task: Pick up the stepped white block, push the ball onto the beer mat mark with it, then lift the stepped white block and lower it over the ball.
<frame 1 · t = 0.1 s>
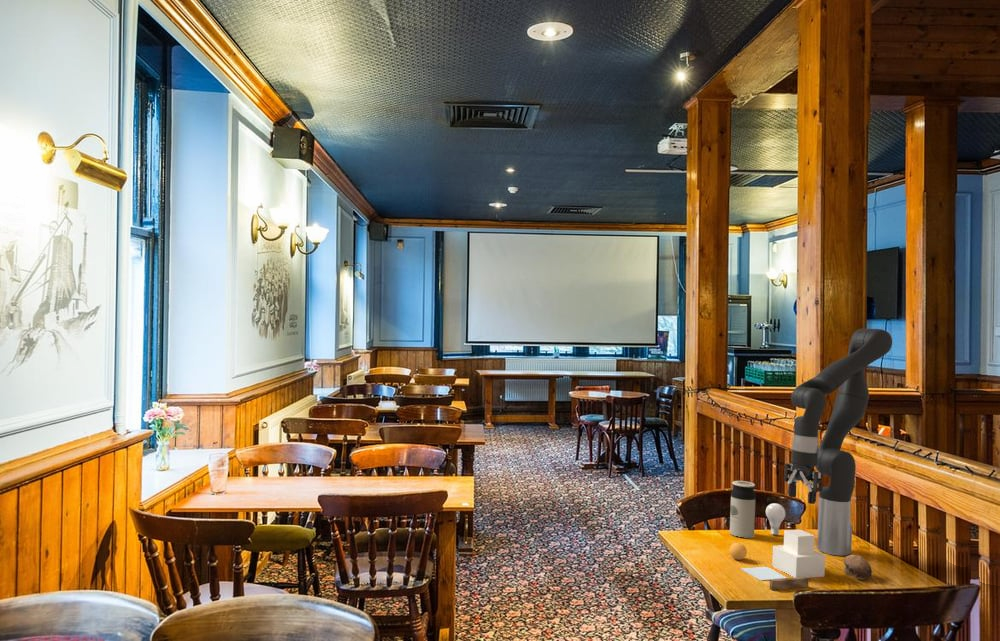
hand: (801, 500, 211), 17 cm above the table, fingers open, 8 cm apart
travel mug: (741, 535, 228), on the table
stepped white block: (797, 571, 195), on the table
beer mat mark: (763, 573, 192), on the table
brown stone: (857, 577, 193), on the table
lightbulb: (774, 535, 230), on the table
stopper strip: (789, 587, 182), on the table
ball: (738, 551, 203), on the table
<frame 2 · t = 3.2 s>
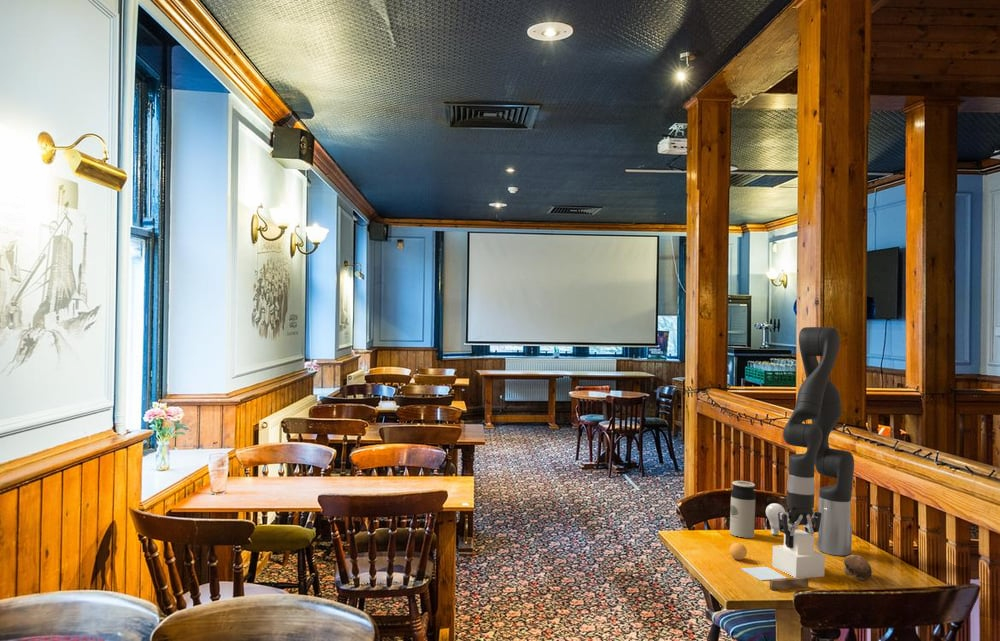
hand: (798, 546, 195), 7 cm above the table, fingers closed on stepped white block, 5 cm apart
stepped white block: (797, 571, 195), on the table, touching gripper
everything else where it was.
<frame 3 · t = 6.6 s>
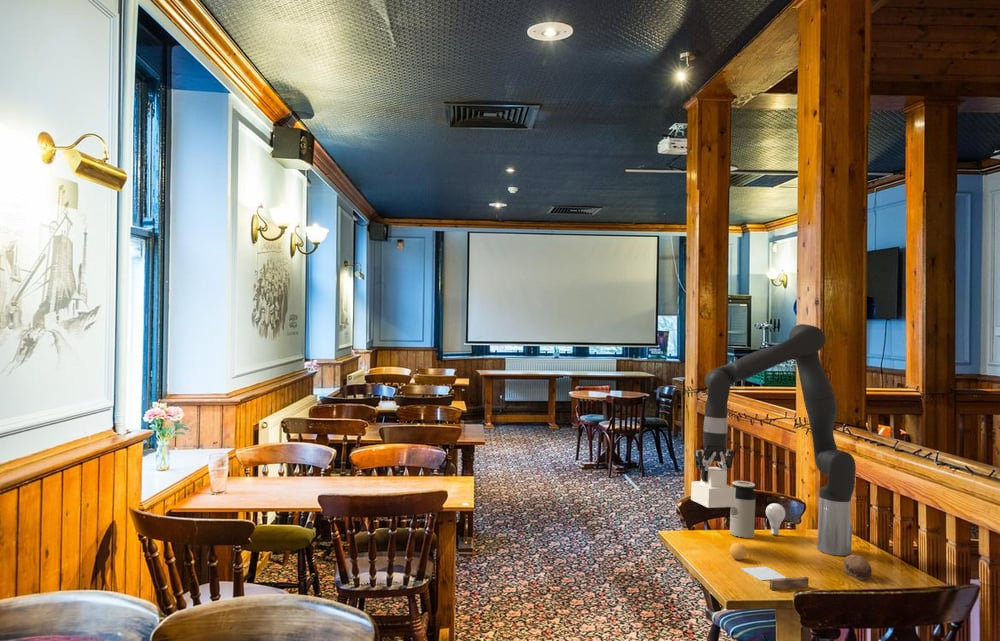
hand: (713, 481, 217), 21 cm above the table, fingers closed on stepped white block, 5 cm apart
stepped white block: (712, 503, 217), point 14 cm above the table, touching gripper
everything else where it was.
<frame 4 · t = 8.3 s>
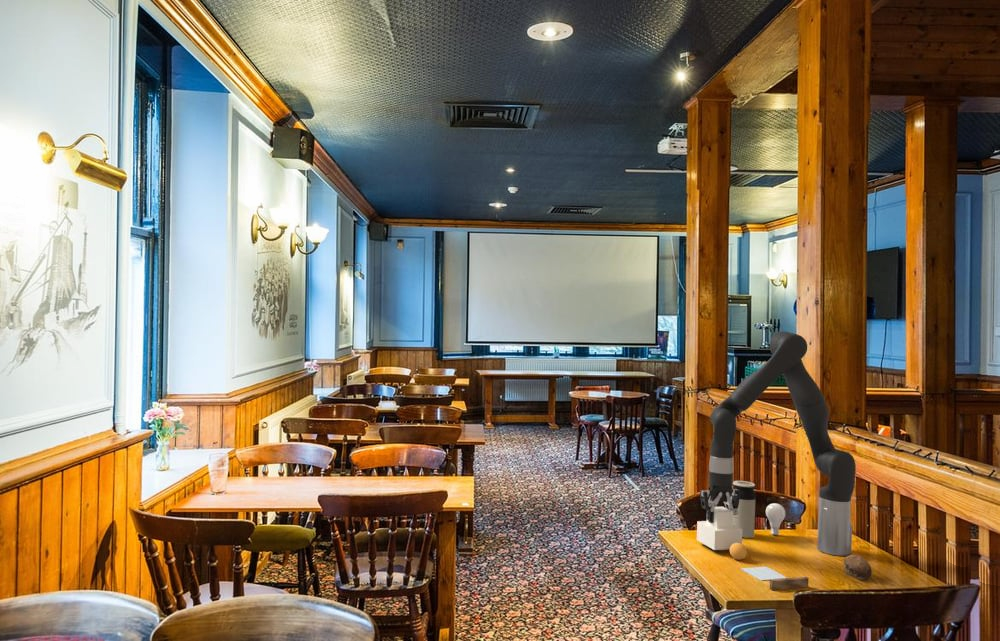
hand: (719, 521, 213), 8 cm above the table, fingers closed on stepped white block, 5 cm apart
stepped white block: (718, 544, 213), point 1 cm above the table, touching gripper
everything else where it was.
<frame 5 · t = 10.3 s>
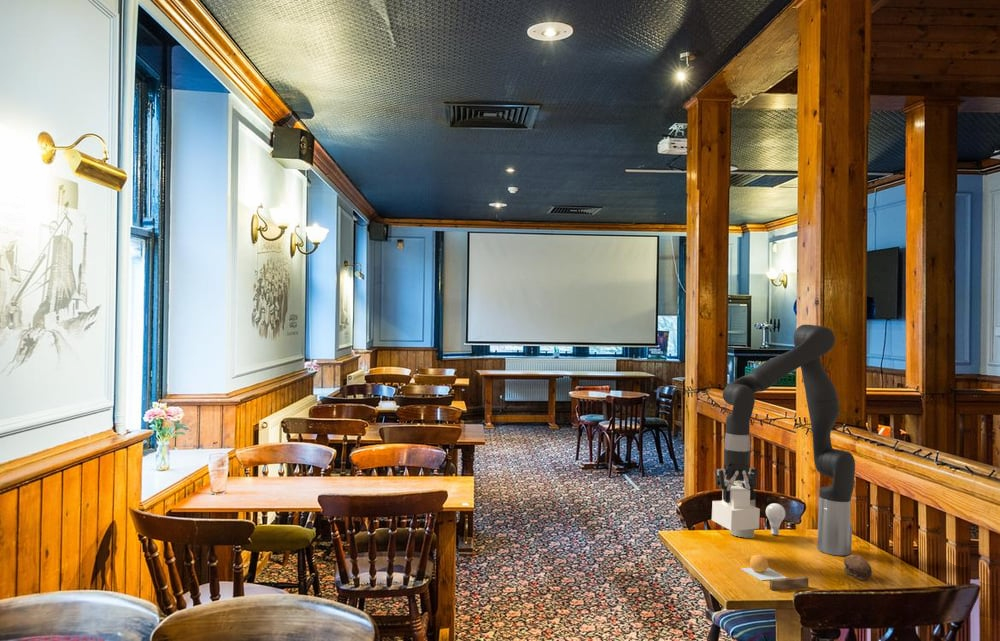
hand: (735, 501, 206), 17 cm above the table, fingers closed on stepped white block, 5 cm apart
stepped white block: (735, 524, 206), point 10 cm above the table, touching gripper
ball: (758, 563, 193), on the table
everything else where it was.
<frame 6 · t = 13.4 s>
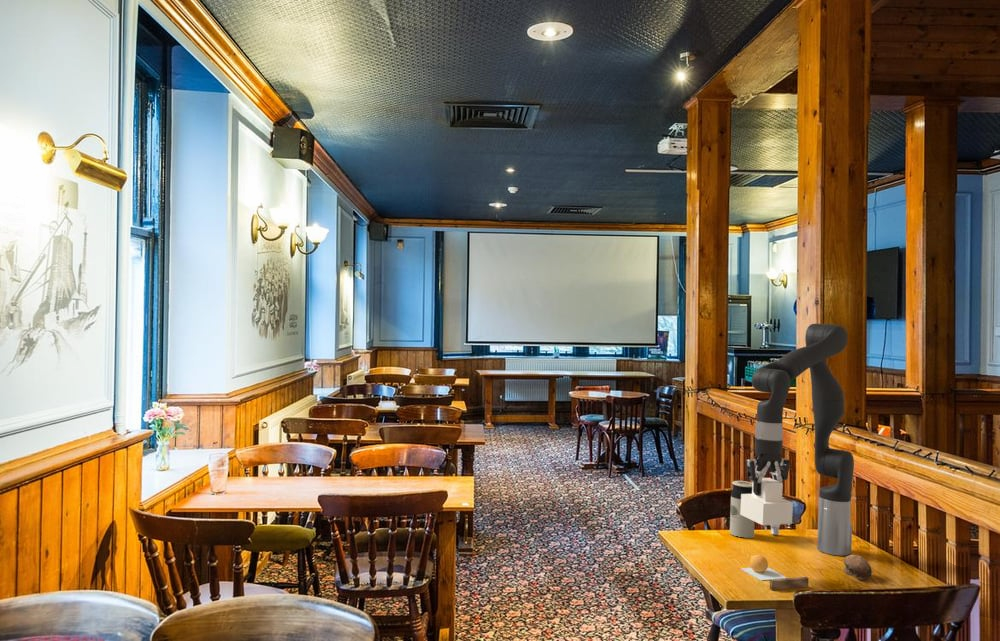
hand: (766, 494, 192), 23 cm above the table, fingers closed on stepped white block, 5 cm apart
stepped white block: (765, 519, 192), point 16 cm above the table, touching gripper
everything else where it was.
when the fingers open (8 cm above the table, at t = 16.2 s): stepped white block stays where it is, on the table.
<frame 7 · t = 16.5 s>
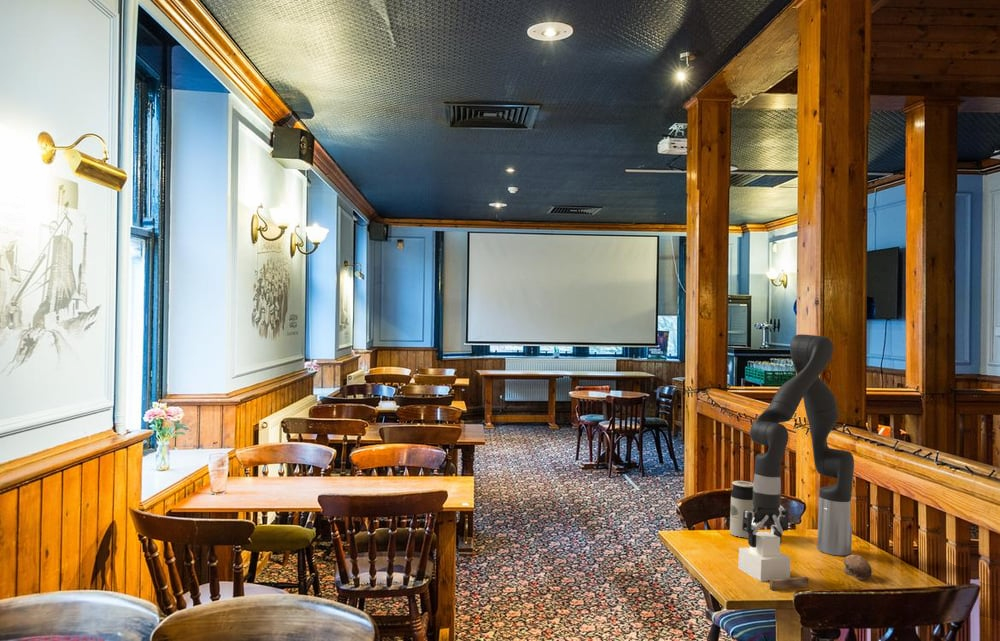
hand: (764, 545, 192), 8 cm above the table, fingers open, 8 cm apart
stepped white block: (763, 573, 192), on the table
everything else where it was.
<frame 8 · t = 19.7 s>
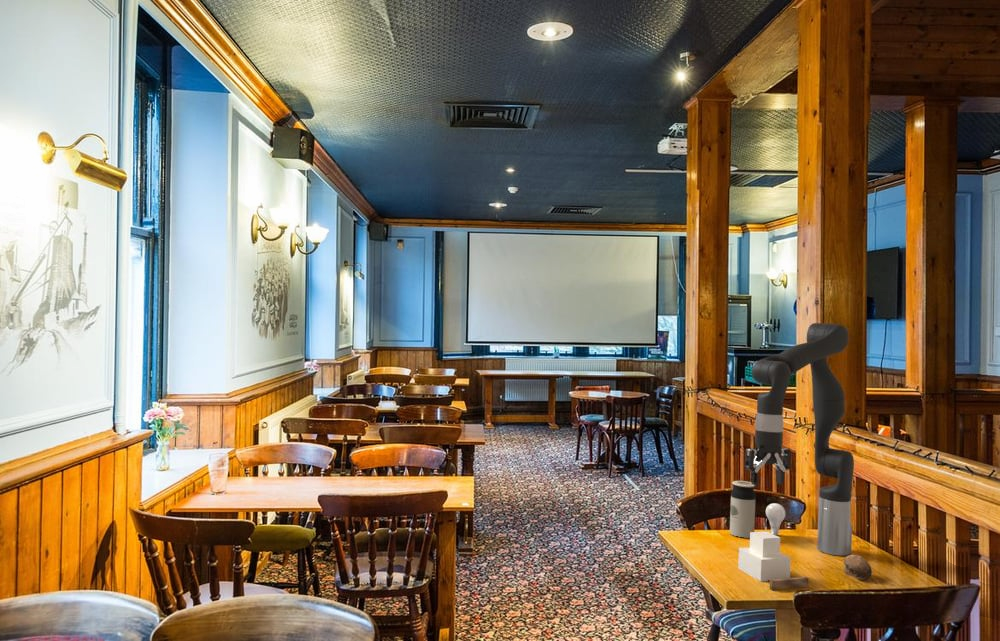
hand: (767, 484, 192), 26 cm above the table, fingers open, 8 cm apart
nothing on the table moved.
at the end: ball 1.5 cm from the stepped white block (horizontally); stepped white block on the table; ball moved 10.5 cm from its start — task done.
